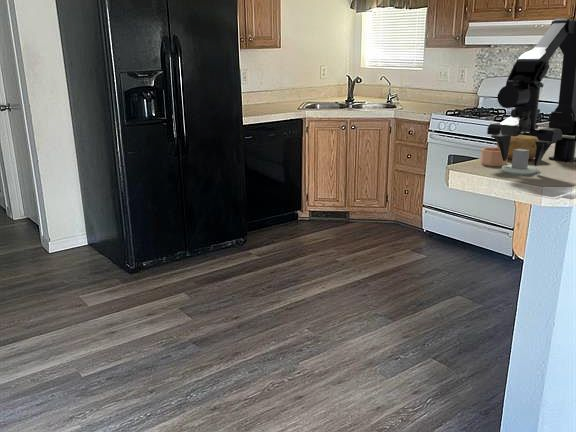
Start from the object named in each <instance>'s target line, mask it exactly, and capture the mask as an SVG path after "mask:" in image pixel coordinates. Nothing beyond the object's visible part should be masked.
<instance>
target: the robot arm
mask: <svg viewBox="0 0 576 432" xmlns="http://www.w3.org/2000/svg"><path fill="white" fill-rule="evenodd" d="M557 49H560V51H561V53H562V56H563V57H562V65H561V75H560V85H559V95H558V104H557V107H556V108H555V109H554V111H551V112H550V114H549V122H548V127H544V128H539V124H537V119H538V117H537V116H538V114H541V113H540V112H541V109H540V108H539V102H540V94H541V88H543V87H544V84H543V83H542V80H543V79H544V78H545V76H546V75H547V74H548V71H549V69H550V64H549V62H550V59H551V58H552V56H553V55H554V54H555V53H556V51H557ZM505 82H506V83H505V86H503V87H501V88H500V90H499V92H498V93H497V102H498V104H499V106H501V107H502V108H504V109H511V111H510V116H509V117H506V118H505V119H504V120H502V121H501V122H496V123H490V124H489V125H488V126H487V129H486V130H487V131H486V134H487V135H490V137H491V138H492V139H494V140H495V141H496V143H497V142H498V145H499V148H500V151H501V155H502V159H503V161H506V160H507V161H508V158H507V156H508V151H509V145H510V140H511V136H518V135H526V136H535V137H537V138H538V140H540V141H535V143H536V146H537V148H536V154H535V158H534V161H533V162H534V164H533V165H534V166H535V167H537V166H538V165H539V164H540V162H541V161H542V159H543V157H544V155H545V154H546V153H547V151H548V149H549V148H550V147H551V146H552V144H554V151H553V156H548V159H549V160H555V161H561V162H574V161H576V156H575V155H576V20H575V19H573V18H570V17H569V18H555V19H553V20H552V21H551V24H550V27H549V28H548V29H547V31H545V32H544V34H543V36H542V37H541V38H540V40H539V41H538V42H537V43H536V44H535V46H534V47H533V48H532V49H530V50H528V51H525V52H524V53H522V54H521V55H520V56H519V57H518V58H517V60H516V61H515V63H514V65H513V67H512V69H511V71H510V73H509V75H508V78H507V79H506V81H505ZM534 166H533V167H534Z"/></svg>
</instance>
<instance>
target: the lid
mask: <svg viewBox="0 0 576 432" xmlns="http://www.w3.org/2000/svg"><path fill="white" fill-rule="evenodd" d="M529 151H530V150H526V149H515V150H513V158H512V159H511V160H512V161H511V164H507V165H503V166H501V168H502V171H504V172H507V173H513V174H535V173H537V170H538V168H537V167H536V166H535V167H534V166H531V165H529V160H528V159H529ZM507 173H506V174H507ZM513 174H512V175H513Z"/></svg>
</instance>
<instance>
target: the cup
mask: <svg viewBox="0 0 576 432" xmlns="http://www.w3.org/2000/svg"><path fill="white" fill-rule="evenodd" d="M479 155H480V157H479V163H480V164H481V165H485V166H490V167H491V166H492V167H502V166H505V165H508V159H509V158H508V156H507V160H506V161H503V159H502V155H501V151H500V148H498V147H494V146H493V147H491V146H490V147H482V148H480V154H479Z"/></svg>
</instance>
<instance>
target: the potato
mask: <svg viewBox="0 0 576 432" xmlns="http://www.w3.org/2000/svg"><path fill="white" fill-rule="evenodd" d="M535 141H540V140H538V138H537V137H535V136H526V135H518V136H511V140H510V145H509V151H508V158H507V159H510V160H512V158H513V150H515V149H526V150H530V151H529V159H528V161H529V160H533V159H535V154H536V148H537V146H536V143H535ZM496 148H499V145H498V142H497V141H496Z"/></svg>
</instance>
